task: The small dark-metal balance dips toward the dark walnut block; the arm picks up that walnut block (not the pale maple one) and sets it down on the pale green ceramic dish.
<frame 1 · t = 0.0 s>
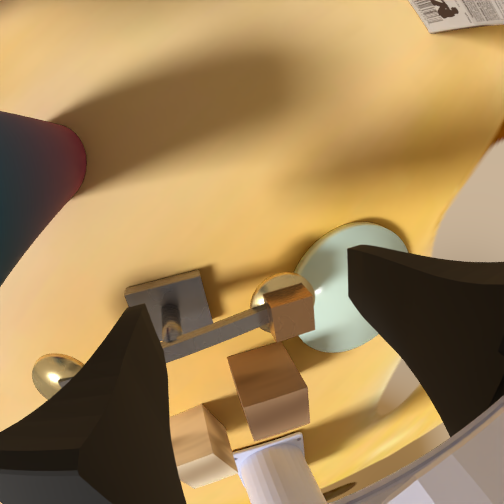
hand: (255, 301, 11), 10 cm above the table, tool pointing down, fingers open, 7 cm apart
walnut block: (258, 368, 25), on the table
dish: (351, 288, 25), on the table
balance: (169, 304, 21), on the table
cup: (50, 164, 16), on the table
maple block: (193, 424, 26), on the table
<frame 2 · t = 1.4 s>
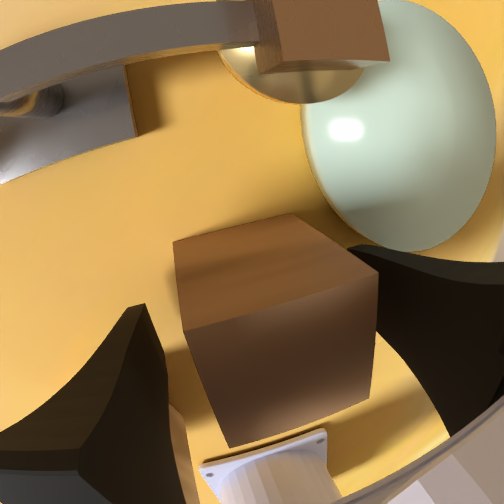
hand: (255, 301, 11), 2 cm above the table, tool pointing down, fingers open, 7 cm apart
walnut block: (243, 280, 12), on the table
dish: (415, 123, 12), on the table
balance: (57, 102, 8), on the table
maple block: (121, 407, 13), on the table
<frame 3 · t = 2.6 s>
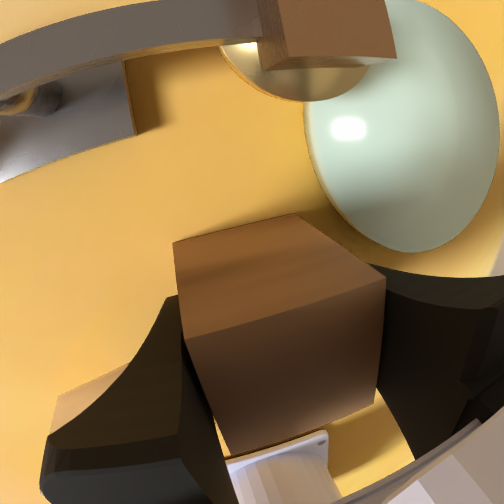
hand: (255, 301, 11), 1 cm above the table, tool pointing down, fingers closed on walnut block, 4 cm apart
walnut block: (245, 282, 12), on the table, touching gripper
dish: (418, 123, 12), on the table
balance: (54, 100, 8), on the table
maple block: (120, 409, 13), on the table
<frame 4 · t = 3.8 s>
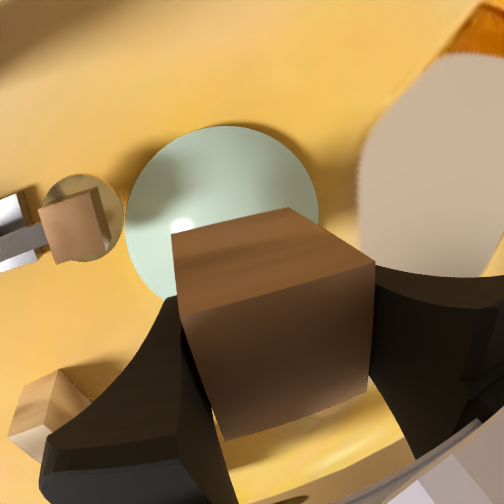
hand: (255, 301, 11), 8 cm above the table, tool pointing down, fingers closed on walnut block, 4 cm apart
walnut block: (241, 274, 12), point 7 cm above the table, touching gripper
dish: (223, 223, 18), on the table
balance: (1, 234, 15), on the table
maple block: (59, 396, 20), on the table
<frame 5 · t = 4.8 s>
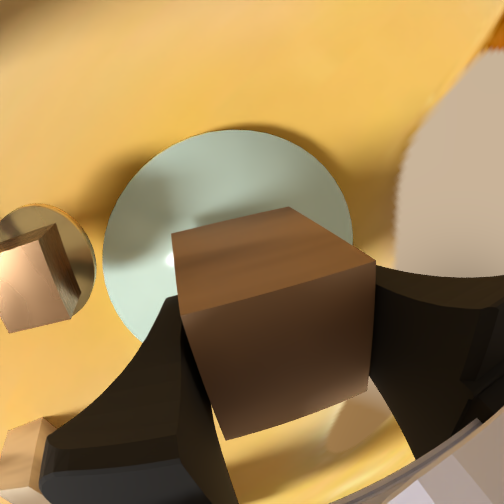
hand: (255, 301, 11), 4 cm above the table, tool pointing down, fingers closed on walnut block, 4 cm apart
walnut block: (241, 273, 12), point 2 cm above the table, touching gripper
dish: (231, 257, 14), on the table
maple block: (46, 442, 16), on the table
when the fingers open (4 cm above the table, at t = 5.6 s): walnut block stays where it is, resting on dish.
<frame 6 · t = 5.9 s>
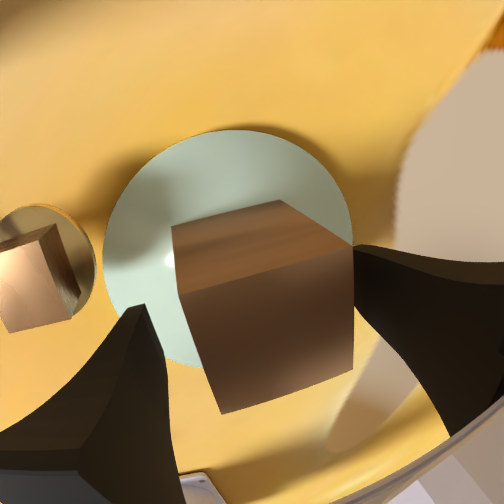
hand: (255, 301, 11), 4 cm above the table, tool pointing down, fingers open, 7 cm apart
walnut block: (236, 262, 13), point 1 cm above the table, touching dish
dish: (231, 257, 14), on the table
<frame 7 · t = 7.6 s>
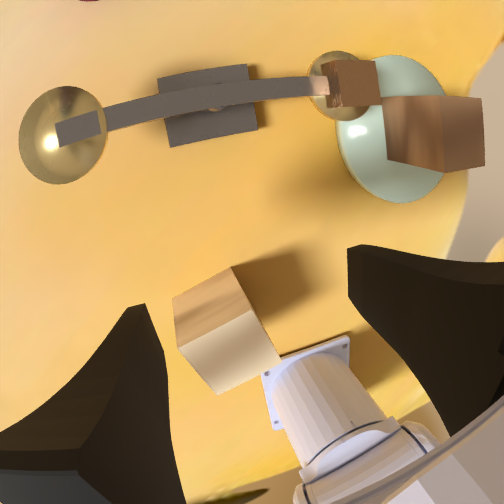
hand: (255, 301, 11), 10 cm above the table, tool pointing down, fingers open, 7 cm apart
walnut block: (407, 126, 20), point 1 cm above the table, touching dish
dish: (398, 128, 21), on the table
balance: (206, 104, 17), on the table
maple block: (216, 307, 22), on the table
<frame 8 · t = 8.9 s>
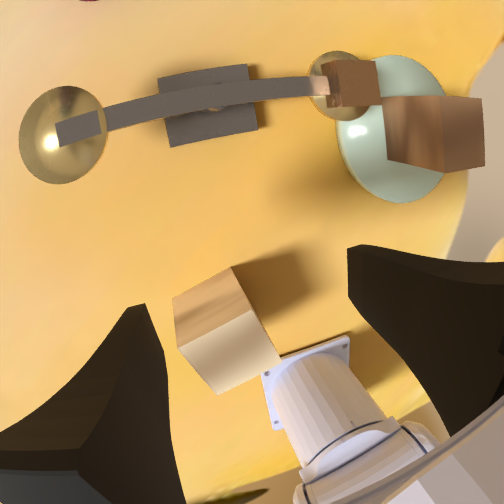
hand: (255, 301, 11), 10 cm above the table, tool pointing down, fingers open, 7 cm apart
walnut block: (407, 126, 20), point 1 cm above the table, touching dish
dish: (398, 128, 21), on the table
balance: (206, 104, 17), on the table
maple block: (216, 307, 22), on the table
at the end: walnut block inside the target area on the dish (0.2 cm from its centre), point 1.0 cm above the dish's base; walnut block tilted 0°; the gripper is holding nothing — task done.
